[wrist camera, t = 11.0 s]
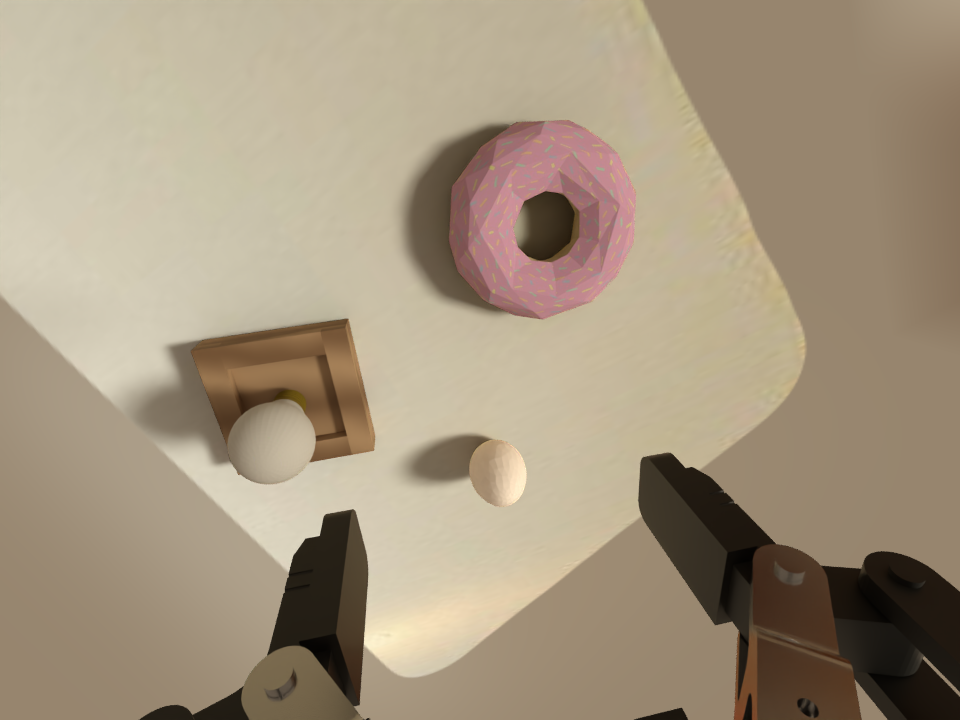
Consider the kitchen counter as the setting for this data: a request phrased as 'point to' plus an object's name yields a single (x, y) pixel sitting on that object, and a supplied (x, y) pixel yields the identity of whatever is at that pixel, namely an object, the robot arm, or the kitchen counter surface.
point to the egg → (498, 472)
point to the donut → (520, 176)
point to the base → (292, 381)
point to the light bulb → (273, 440)
